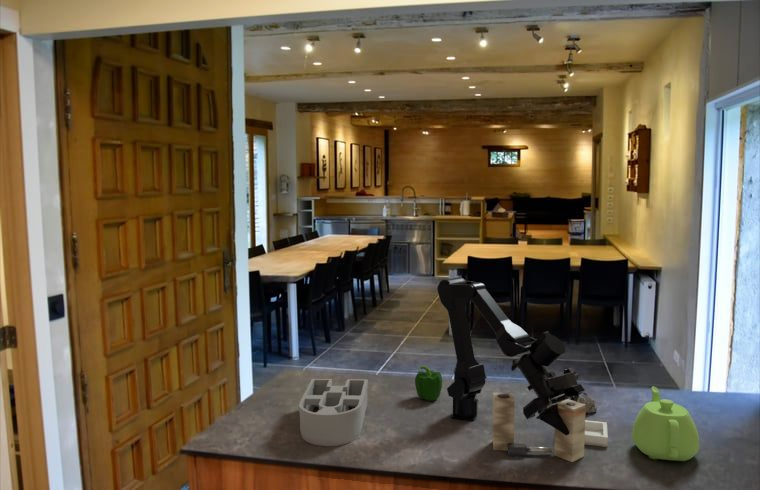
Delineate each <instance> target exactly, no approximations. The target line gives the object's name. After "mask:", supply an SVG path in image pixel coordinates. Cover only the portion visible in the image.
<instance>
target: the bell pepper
mask: <svg viewBox="0 0 760 490" xmlns="http://www.w3.org/2000/svg"><path fill="white" fill-rule="evenodd" d="M419 368H420V370H424V371H425V372H424V371H418V372H417V373H416V376H415V378H414V385H415V389H416V393H417V397H418V398H419V399H422V400H425V401H427V402H429V401H430V402H431V401H432V402H433V401H436V400H438V398H439V397H440V395H441V391H442V387H443V377H442V374H441V371H434V370H431V369H430V368H429V367H428V366H426V365H420V367H419Z"/></svg>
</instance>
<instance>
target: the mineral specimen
mask: <svg viewBox="0 0 760 490" xmlns="http://www.w3.org/2000/svg"><path fill="white" fill-rule="evenodd" d="M577 402H579V403H582V404H586V413H585V414H587V413H588V414H590V413H596V412H597V409H598V407H597V406H596V403H595V400H594V399H593V398H591V397H590V396H589V394H588V393H587V392H585V391H584V392H583V393H582V394H580V395H579V398H578V400H577ZM558 403H559V402H558Z"/></svg>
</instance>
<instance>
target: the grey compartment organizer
mask: <svg viewBox="0 0 760 490" xmlns="http://www.w3.org/2000/svg"><path fill="white" fill-rule="evenodd" d="M368 386H369V381H368V379H366V378H365V379H364V378H363V379H361V378H357V379H356V378H353V379H352V378H348V379H346V381H345V383H344V385H333V378H311V380H310V382H309V384H308V385H307V388H306V390H305V391H304V393H303V396H302V397H301V400H300V401H299V404H298V412H299V413H298V414H299V430H300V432H299V433H300V434H301V437H302V439H303V440H304V441H305V442H307V443H309V444H311V445H315V446H320V447H321V446H323V447H334V446H335V447H336V446H343V445H346V444H350V443H351V442H354V441H356V440H357V439H359V437H360V436H361V434H362V433H361V432H362V429H363V425H364V419H365V416H366V411H367V407H368ZM353 407H355V408H353ZM315 408H318V410H317V411H316V412H314V409H315ZM350 408H352V409H350Z"/></svg>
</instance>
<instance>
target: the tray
mask: <svg viewBox="0 0 760 490" xmlns="http://www.w3.org/2000/svg"><path fill="white" fill-rule="evenodd" d="M607 423H608V422H605V421H596V420H587V419H585V442H584V445H588V446H595V447H596V446H597V447H604V448H608V444H609V443H608V442H609V441H608V439H609V436H608V435H609V434H608V424H607Z"/></svg>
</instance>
